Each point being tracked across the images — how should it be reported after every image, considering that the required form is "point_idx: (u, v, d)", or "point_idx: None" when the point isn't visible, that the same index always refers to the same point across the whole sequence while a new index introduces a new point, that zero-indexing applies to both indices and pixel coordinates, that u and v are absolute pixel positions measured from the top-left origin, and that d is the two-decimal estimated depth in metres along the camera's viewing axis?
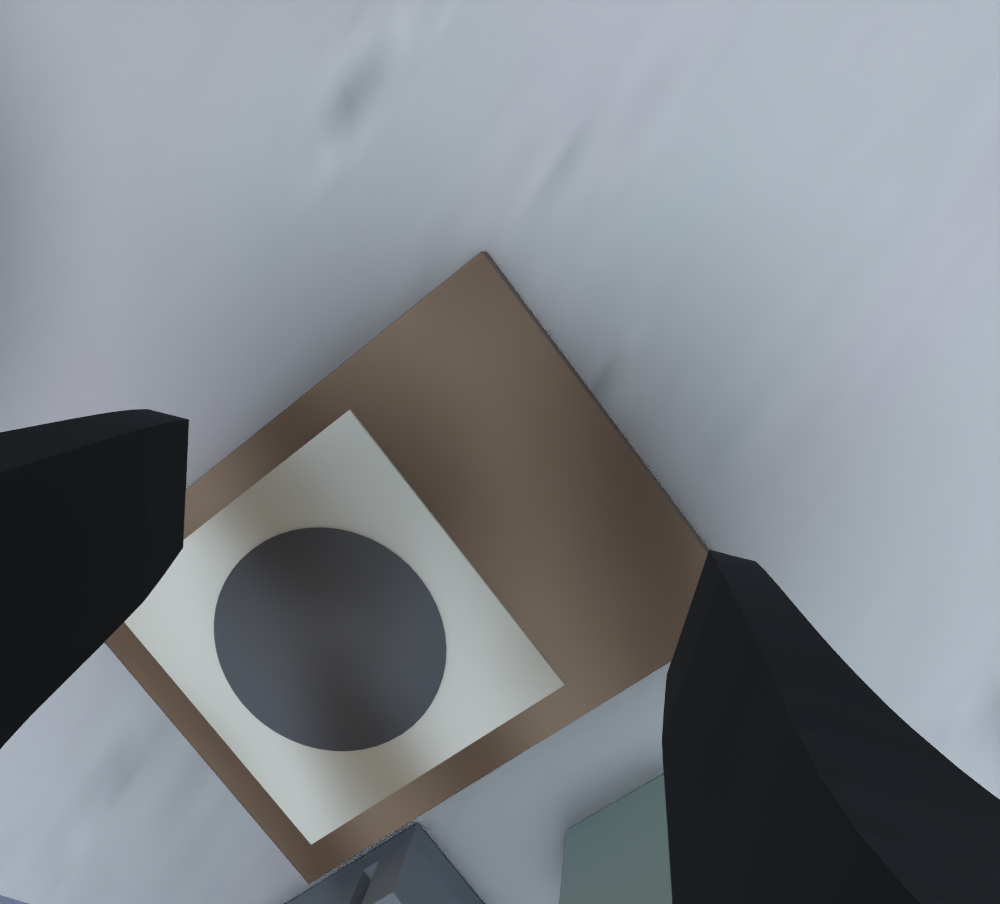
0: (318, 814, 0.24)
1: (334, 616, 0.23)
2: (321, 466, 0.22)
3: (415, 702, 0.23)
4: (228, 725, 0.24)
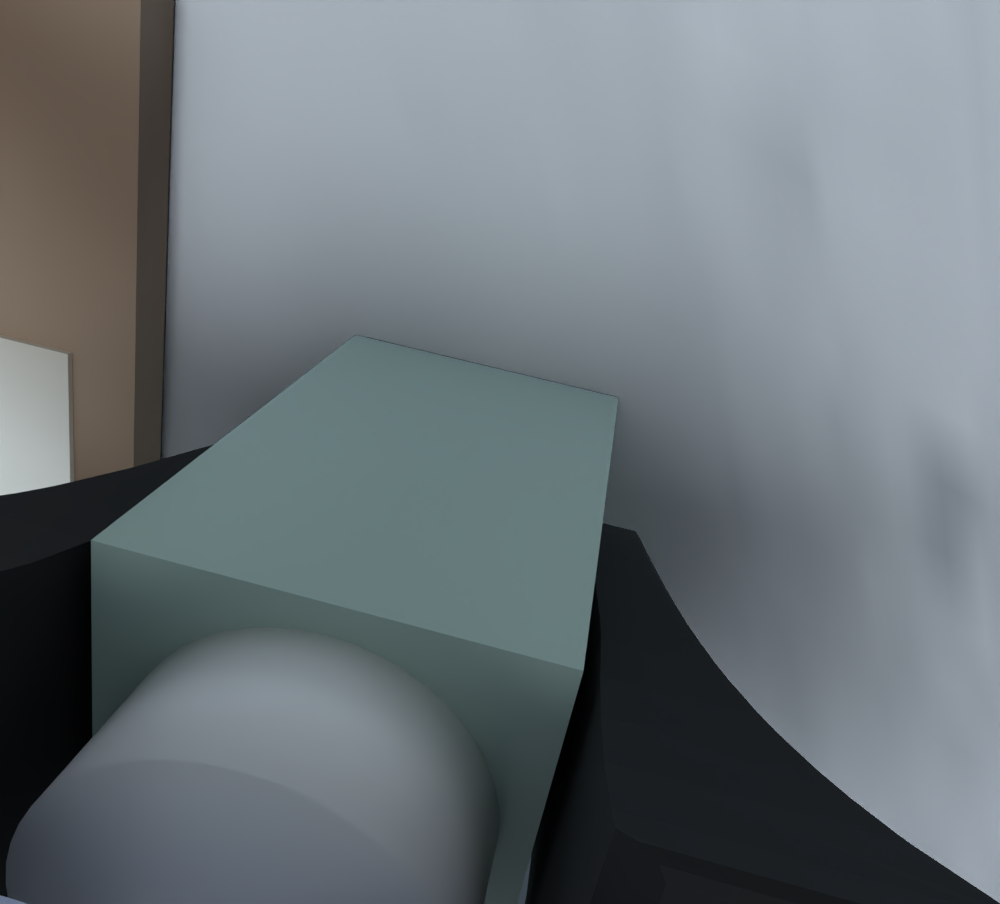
0: None
1: None
2: None
3: None
4: None
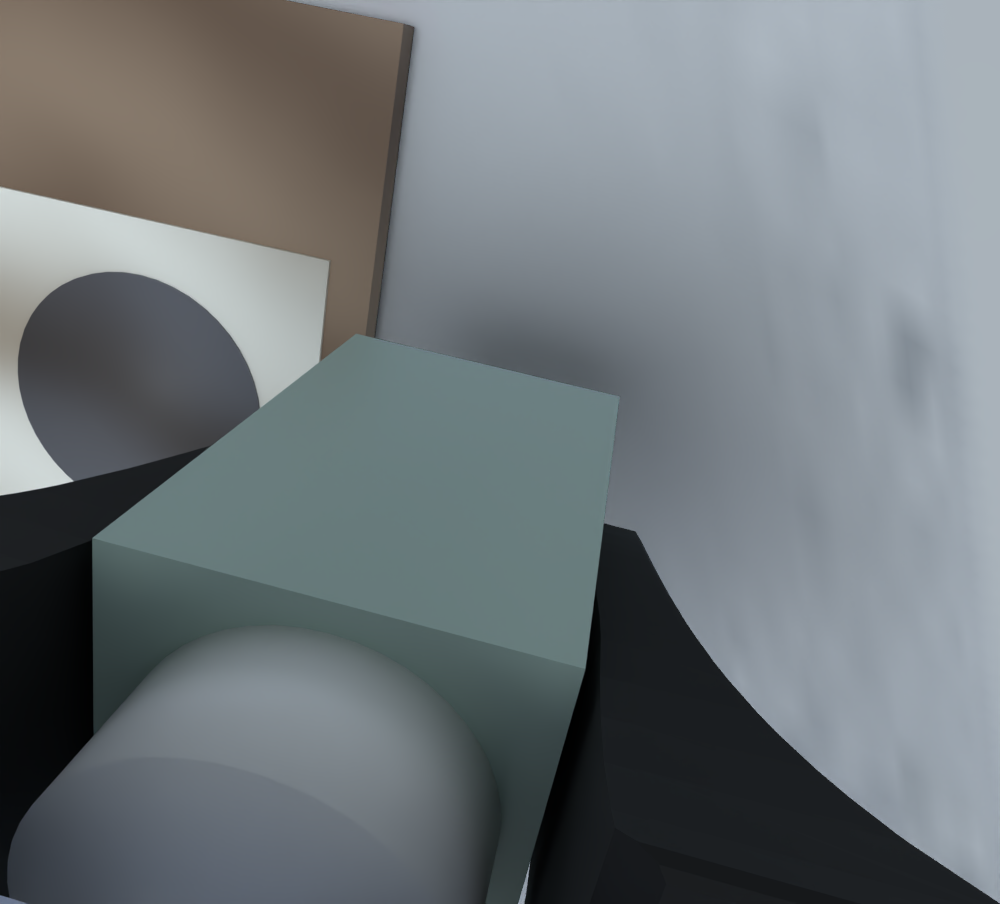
0: None
1: (118, 373, 0.21)
2: None
3: (240, 392, 0.21)
4: None
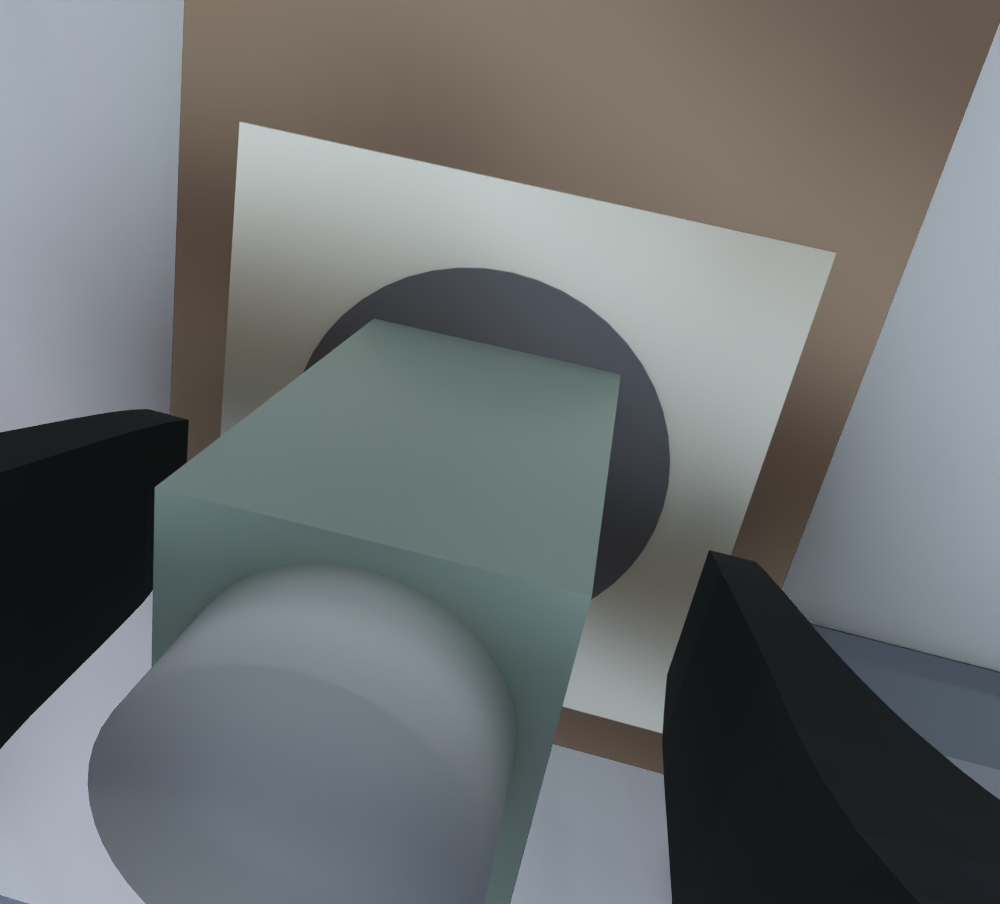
0: (645, 691, 0.15)
1: None
2: (275, 234, 0.13)
3: (645, 450, 0.14)
4: None
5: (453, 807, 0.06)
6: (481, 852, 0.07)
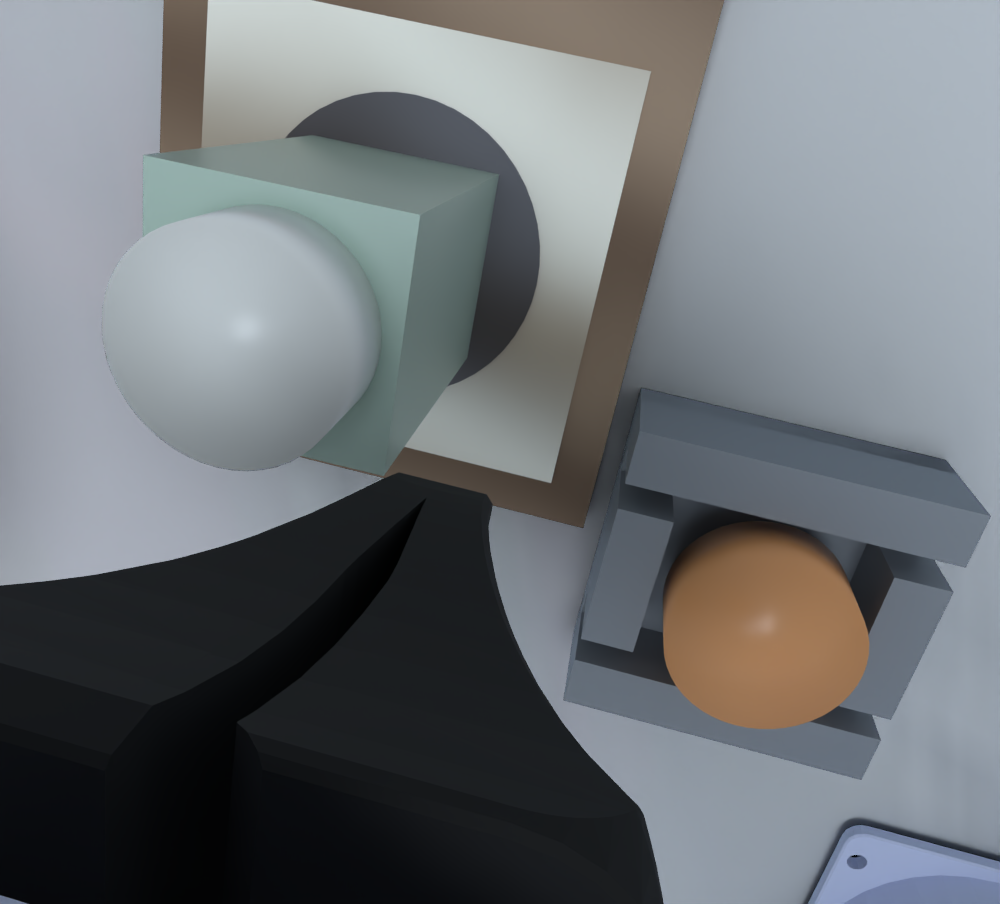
0: (532, 445, 0.20)
1: None
2: (237, 69, 0.18)
3: (520, 237, 0.18)
4: None
5: (323, 313, 0.11)
6: (342, 346, 0.11)
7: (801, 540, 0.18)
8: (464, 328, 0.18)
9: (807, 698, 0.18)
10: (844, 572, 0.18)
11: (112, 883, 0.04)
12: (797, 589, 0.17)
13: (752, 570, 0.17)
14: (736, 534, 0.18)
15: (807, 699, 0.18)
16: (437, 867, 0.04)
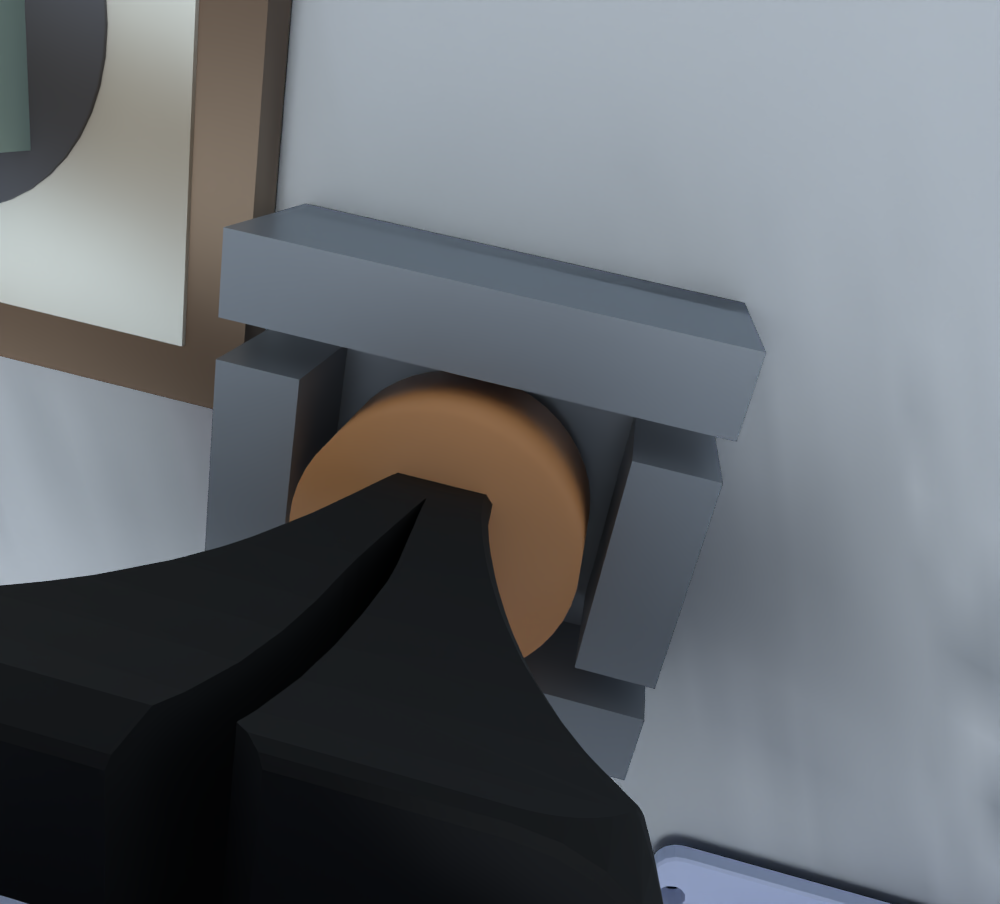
0: (146, 287, 0.14)
1: None
2: None
3: None
4: None
5: None
6: None
7: (494, 392, 0.12)
8: None
9: None
10: (572, 445, 0.12)
11: (111, 886, 0.04)
12: (462, 453, 0.11)
13: (393, 425, 0.11)
14: (405, 385, 0.12)
15: None
16: (436, 867, 0.04)
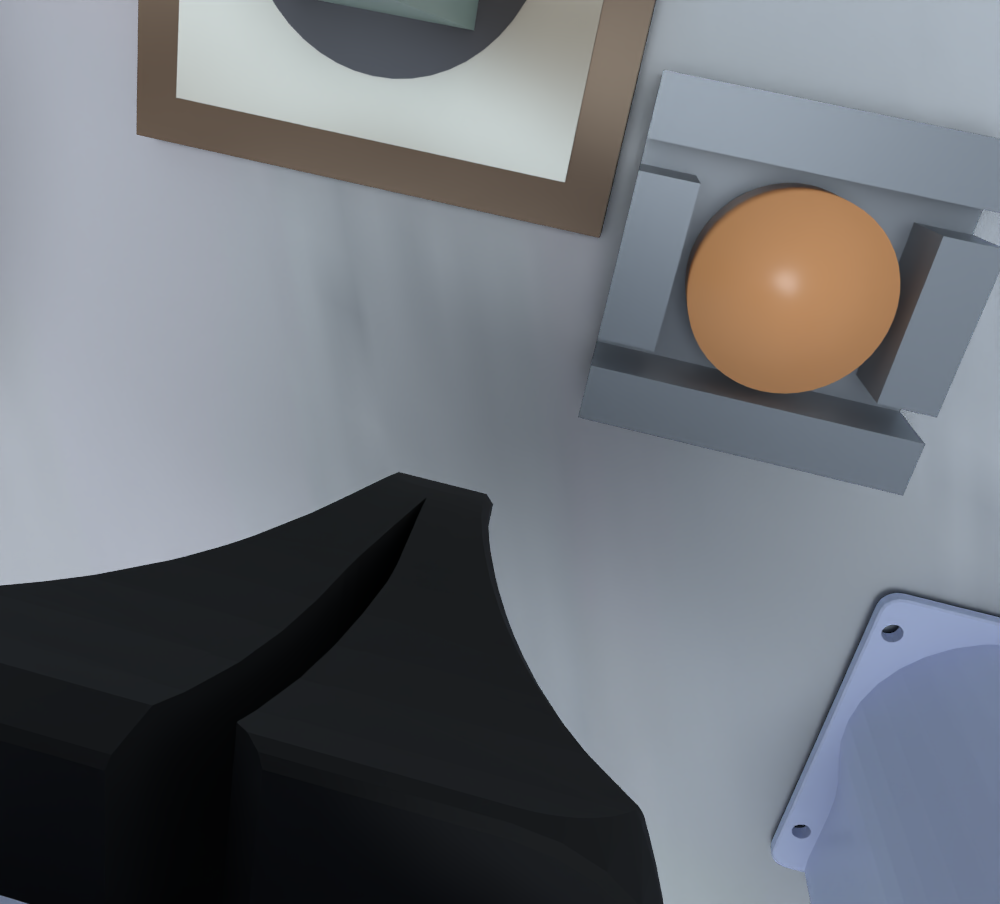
0: (544, 136, 0.18)
1: None
2: None
3: None
4: (382, 121, 0.19)
5: None
6: None
7: (828, 191, 0.17)
8: None
9: (835, 352, 0.17)
10: None
11: (112, 885, 0.04)
12: (826, 220, 0.16)
13: (780, 202, 0.16)
14: (762, 190, 0.17)
15: (835, 353, 0.17)
16: (437, 867, 0.04)
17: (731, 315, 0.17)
